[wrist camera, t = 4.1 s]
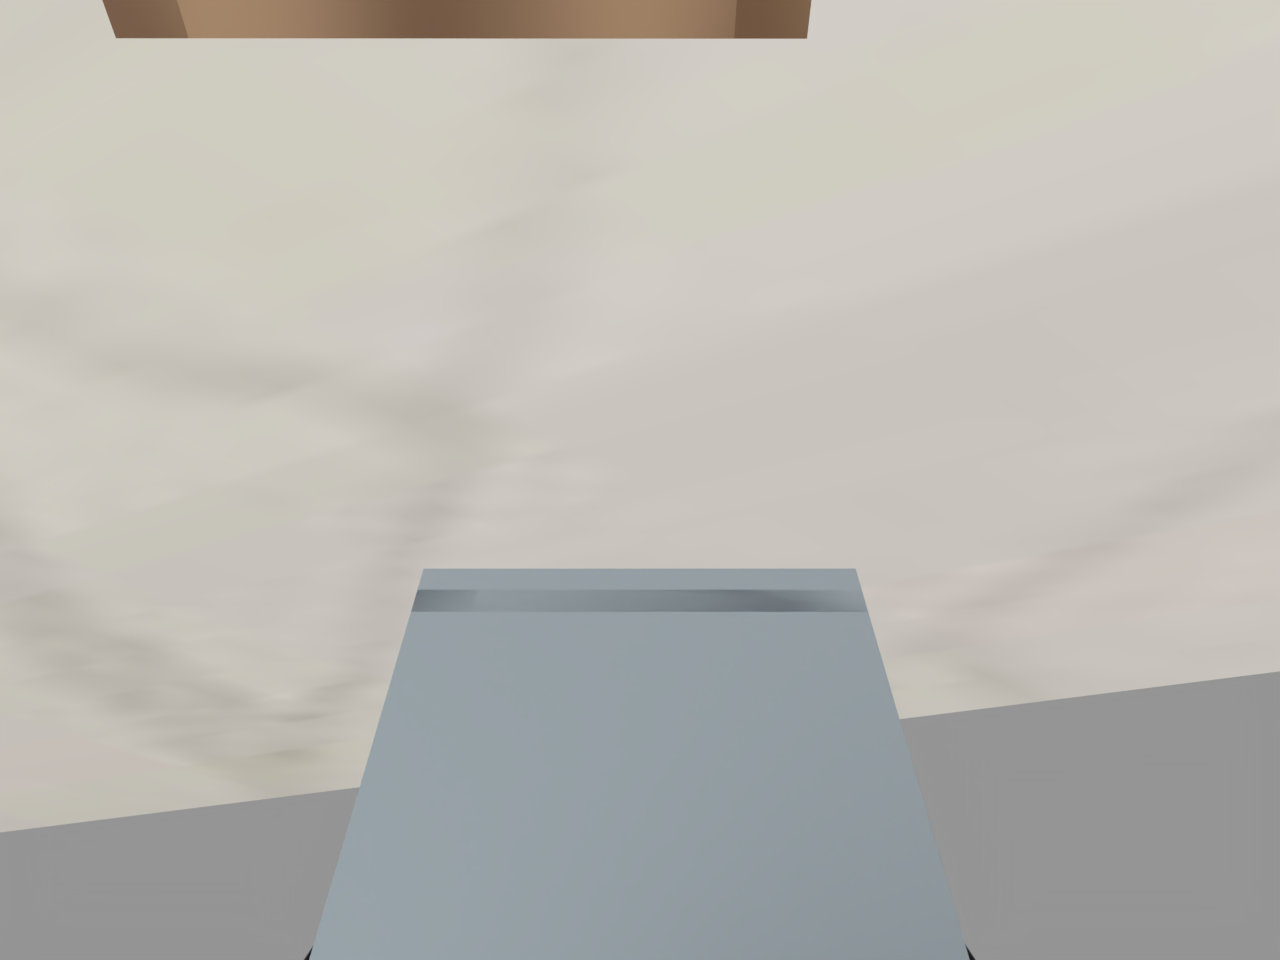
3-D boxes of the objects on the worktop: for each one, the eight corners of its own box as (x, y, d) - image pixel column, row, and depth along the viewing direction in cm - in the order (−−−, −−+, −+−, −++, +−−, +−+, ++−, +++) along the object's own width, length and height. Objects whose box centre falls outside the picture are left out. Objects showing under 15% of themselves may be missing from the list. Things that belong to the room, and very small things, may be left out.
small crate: (855, 569, 11) (1009, 1092, 7) (789, 853, 16) (850, 1265, 12) (424, 568, 11) (270, 1092, 7) (489, 853, 16) (429, 1266, 12)
